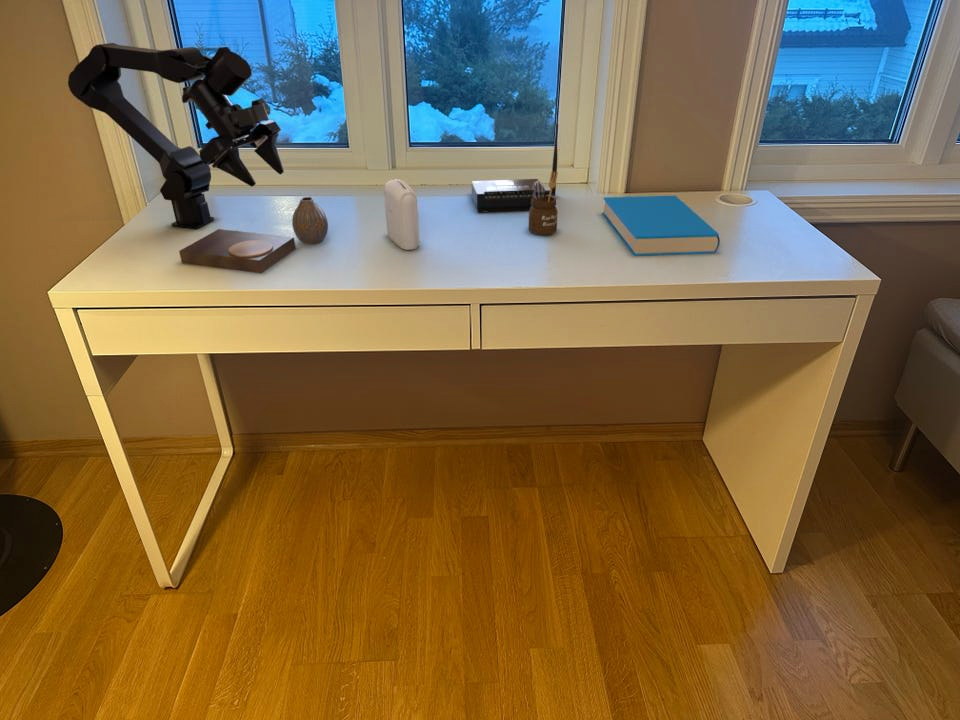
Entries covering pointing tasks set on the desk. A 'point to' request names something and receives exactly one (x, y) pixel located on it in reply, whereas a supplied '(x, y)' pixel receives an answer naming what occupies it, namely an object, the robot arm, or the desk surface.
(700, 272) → the desk surface
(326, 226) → the vase
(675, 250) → the book
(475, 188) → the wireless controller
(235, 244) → the riser board
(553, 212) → the utensil holder
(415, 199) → the photo printer
